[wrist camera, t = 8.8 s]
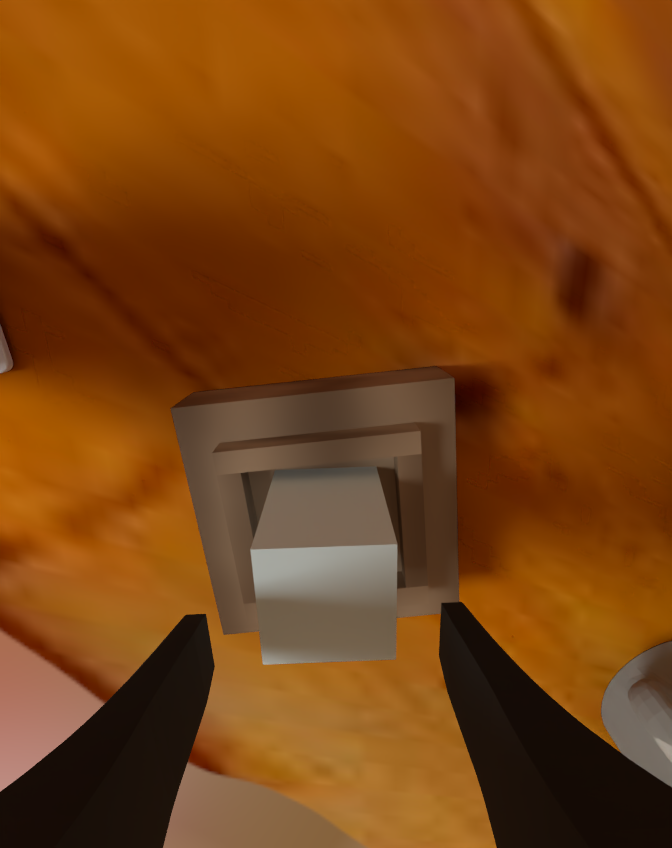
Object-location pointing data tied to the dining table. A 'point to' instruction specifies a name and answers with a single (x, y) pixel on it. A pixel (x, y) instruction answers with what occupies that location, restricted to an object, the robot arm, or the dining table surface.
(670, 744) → the grey can
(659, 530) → the dining table surface
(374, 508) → the block
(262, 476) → the taupe stepped square slab
